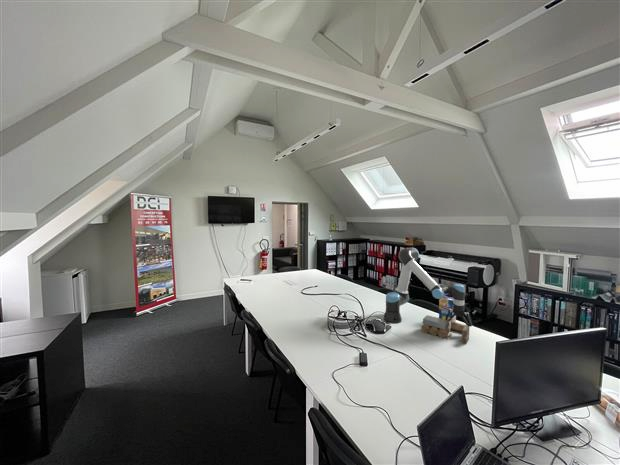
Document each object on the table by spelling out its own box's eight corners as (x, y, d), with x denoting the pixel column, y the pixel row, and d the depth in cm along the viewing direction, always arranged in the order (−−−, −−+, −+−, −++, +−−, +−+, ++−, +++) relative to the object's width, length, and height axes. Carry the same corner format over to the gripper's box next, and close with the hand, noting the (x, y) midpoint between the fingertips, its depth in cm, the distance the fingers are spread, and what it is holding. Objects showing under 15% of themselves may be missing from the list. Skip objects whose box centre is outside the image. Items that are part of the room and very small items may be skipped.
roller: (450, 323, 200) (452, 320, 204) (450, 330, 201) (452, 326, 205) (466, 327, 192) (468, 324, 197) (466, 334, 194) (468, 330, 198)
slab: (422, 323, 197) (422, 318, 197) (427, 319, 205) (427, 315, 204) (445, 329, 186) (445, 324, 186) (448, 325, 194) (448, 320, 194)
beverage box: (452, 326, 207) (452, 300, 206) (438, 322, 216) (439, 297, 215) (455, 324, 211) (456, 298, 210) (442, 320, 220) (443, 295, 219)
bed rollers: (446, 339, 186) (446, 331, 185) (421, 331, 198) (421, 324, 198) (450, 333, 194) (450, 326, 194) (425, 327, 206) (425, 320, 206)
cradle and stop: (446, 338, 186) (447, 325, 185) (450, 334, 193) (450, 321, 193) (466, 344, 178) (466, 330, 177) (469, 339, 185) (469, 326, 184)
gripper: (441, 302, 200) (440, 329, 201) (475, 309, 184) (474, 338, 185) (443, 300, 205) (443, 326, 207) (477, 306, 190) (476, 334, 191)
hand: (457, 332), depth 196 cm, fingers closed on roller, 11 cm apart
